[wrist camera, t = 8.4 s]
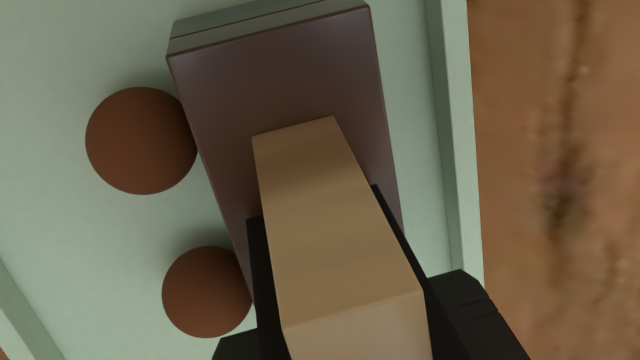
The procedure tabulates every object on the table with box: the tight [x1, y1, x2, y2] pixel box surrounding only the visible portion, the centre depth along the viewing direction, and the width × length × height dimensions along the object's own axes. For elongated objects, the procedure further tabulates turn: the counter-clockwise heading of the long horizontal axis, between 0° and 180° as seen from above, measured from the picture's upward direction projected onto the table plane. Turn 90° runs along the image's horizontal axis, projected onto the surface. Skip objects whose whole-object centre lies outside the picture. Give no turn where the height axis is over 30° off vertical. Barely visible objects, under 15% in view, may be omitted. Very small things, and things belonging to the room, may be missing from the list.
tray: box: [0, 0, 485, 360], centre depth 19 cm, size 22×18×2 cm
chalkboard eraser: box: [165, 0, 433, 360], centre depth 14 cm, size 12×5×10 cm, turn 12°
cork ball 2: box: [161, 246, 252, 338], centre depth 19 cm, size 3×3×3 cm
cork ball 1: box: [85, 87, 198, 195], centre depth 16 cm, size 3×3×3 cm
